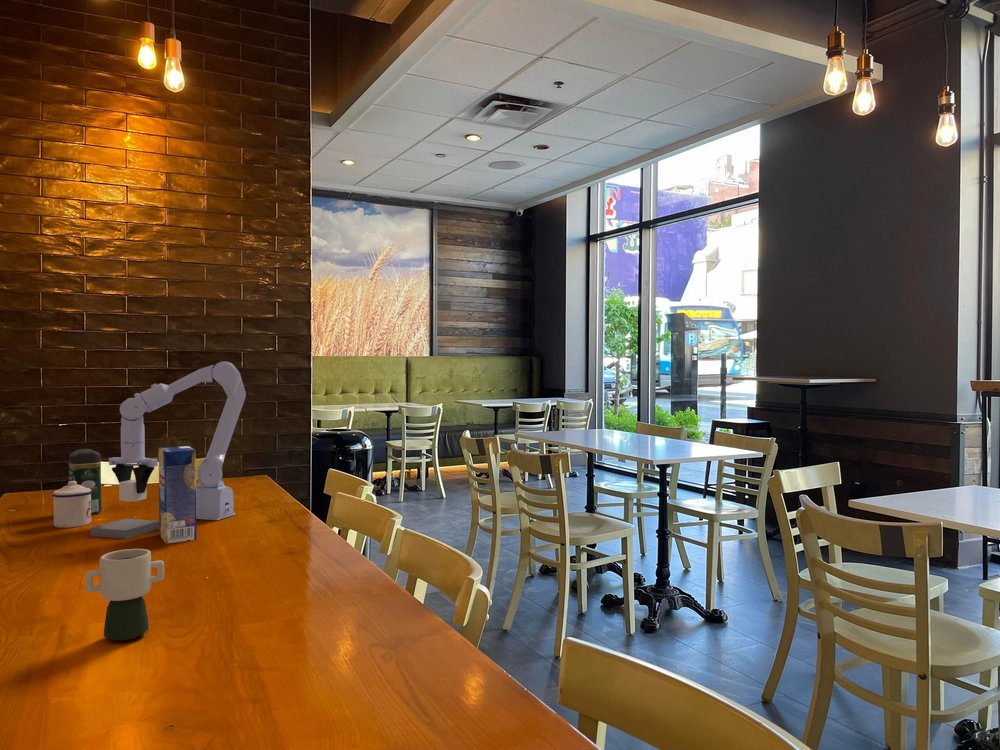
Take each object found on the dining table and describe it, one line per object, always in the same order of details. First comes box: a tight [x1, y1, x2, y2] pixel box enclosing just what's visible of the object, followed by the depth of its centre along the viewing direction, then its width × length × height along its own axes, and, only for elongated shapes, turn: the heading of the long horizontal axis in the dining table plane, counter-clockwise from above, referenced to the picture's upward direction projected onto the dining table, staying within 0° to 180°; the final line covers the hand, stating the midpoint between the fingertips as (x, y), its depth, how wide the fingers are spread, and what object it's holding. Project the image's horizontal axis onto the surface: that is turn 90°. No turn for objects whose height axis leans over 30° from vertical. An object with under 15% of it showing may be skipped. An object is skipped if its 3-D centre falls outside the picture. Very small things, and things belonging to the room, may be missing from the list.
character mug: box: [85, 548, 165, 641], centre depth 110 cm, size 11×7×13 cm, turn 125°
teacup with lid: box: [52, 480, 92, 529], centre depth 190 cm, size 12×9×12 cm
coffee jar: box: [68, 448, 103, 516], centre depth 204 cm, size 10×8×19 cm
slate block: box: [90, 518, 159, 539], centre depth 180 cm, size 11×11×2 cm
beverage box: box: [158, 445, 197, 544], centre depth 174 cm, size 7×11×22 cm, turn 33°
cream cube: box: [118, 479, 148, 503], centre depth 190 cm, size 5×5×5 cm
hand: (133, 492), depth 190 cm, fingers closed on cream cube, 5 cm apart
